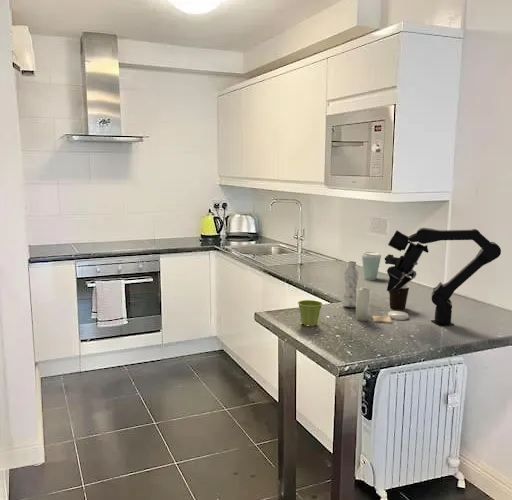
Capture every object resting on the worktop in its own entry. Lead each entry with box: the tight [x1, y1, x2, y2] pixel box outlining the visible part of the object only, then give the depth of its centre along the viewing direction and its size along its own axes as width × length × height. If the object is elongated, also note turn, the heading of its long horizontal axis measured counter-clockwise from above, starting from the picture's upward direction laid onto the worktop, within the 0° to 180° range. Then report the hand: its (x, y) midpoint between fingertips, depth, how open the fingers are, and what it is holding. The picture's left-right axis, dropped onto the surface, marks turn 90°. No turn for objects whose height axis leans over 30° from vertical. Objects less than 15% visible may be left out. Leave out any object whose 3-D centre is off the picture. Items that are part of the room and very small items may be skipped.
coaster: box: [371, 315, 393, 324], centre depth 208 cm, size 7×7×1 cm
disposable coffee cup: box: [361, 250, 382, 281], centre depth 285 cm, size 11×11×15 cm
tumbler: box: [354, 286, 370, 322], centre depth 208 cm, size 5×5×12 cm
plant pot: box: [297, 299, 323, 327], centre depth 199 cm, size 9×9×9 cm
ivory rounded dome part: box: [387, 310, 409, 321], centre depth 212 cm, size 8×8×2 cm
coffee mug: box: [388, 284, 410, 311], centre depth 224 cm, size 12×9×10 cm
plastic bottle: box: [342, 261, 360, 308], centre depth 225 cm, size 6×7×20 cm
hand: (391, 290), depth 209 cm, fingers open, 9 cm apart
